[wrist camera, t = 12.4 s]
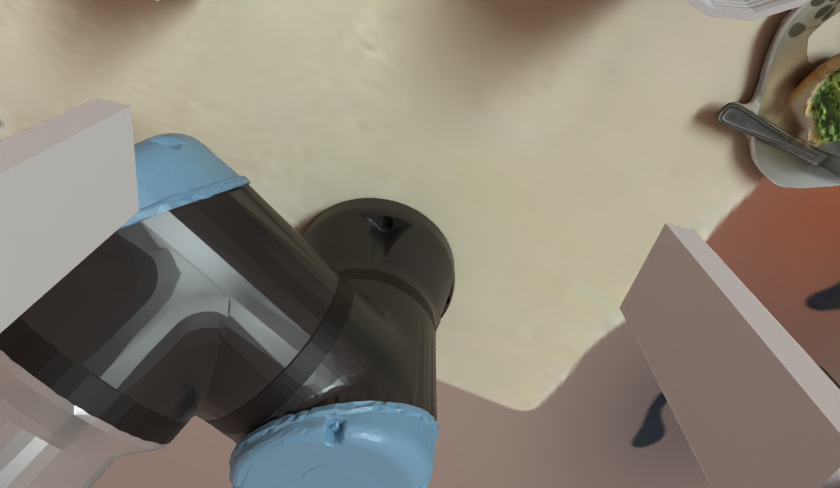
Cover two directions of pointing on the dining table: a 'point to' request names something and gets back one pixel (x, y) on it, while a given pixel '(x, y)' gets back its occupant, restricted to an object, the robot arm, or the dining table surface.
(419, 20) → the dining table surface
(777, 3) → the plastic cup
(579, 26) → the dining table surface
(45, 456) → the robot arm
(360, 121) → the dining table surface
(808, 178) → the salad plate
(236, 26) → the dining table surface
